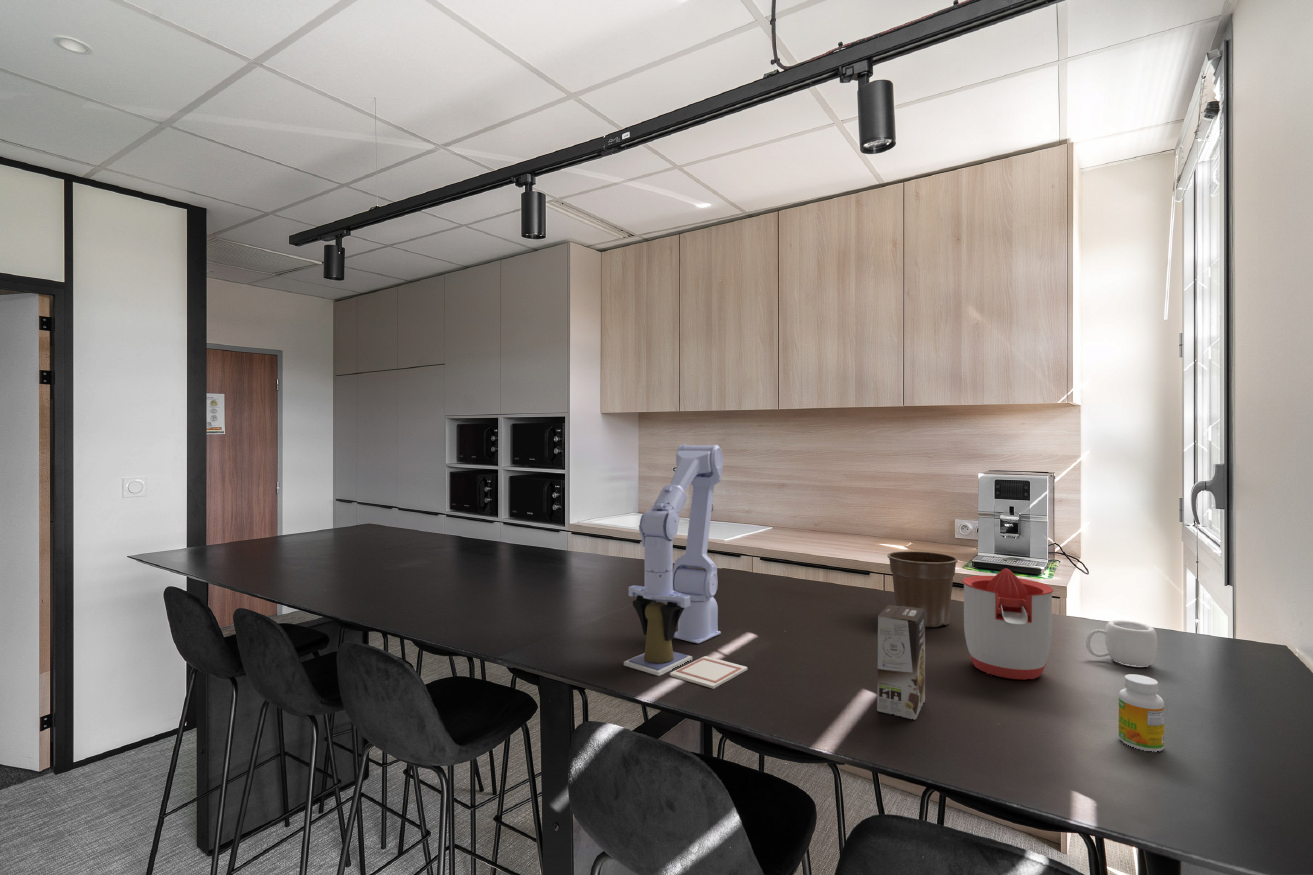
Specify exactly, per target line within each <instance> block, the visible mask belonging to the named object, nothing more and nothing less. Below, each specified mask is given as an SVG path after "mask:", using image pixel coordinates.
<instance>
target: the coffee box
mask: <svg viewBox="0 0 1313 875" xmlns="http://www.w3.org/2000/svg"><path fill="white" fill-rule="evenodd" d="M876 658H877V661H876V662H877V665H876V666H877V667H876V668H877V675H876V677H877V680H876V682H877V689H876V690H877V691H876V692H877V693H876V694H877V695H876V696H877V697H876V702H877V703H876V704H877V705H876V711H877V712H880V713H885V714H888V715H892V714H894V715H893V716H897V717H900V716H901V717H900V718H906V719H910V720H912V719H913V720H917V718H918V717H919V714H920V711H921V710H922V708H923V705H924V704H923V703H925V702H926V627H925V609H921V608H914V607H905V606H895V604H894V605H893V604H887V606H886V607H885V608H883V610H882V611H880V612H879V614H878V615H877V657H876ZM921 707H922V708H921Z"/></svg>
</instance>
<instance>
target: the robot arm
mask: <svg viewBox="0 0 1313 875" xmlns="http://www.w3.org/2000/svg"><path fill="white" fill-rule="evenodd" d="M675 463H676V470H675V471H674V474H673V476H672V478H671V481H670V484H666V485H664V486H663V487H662V488H661V490H660V492H659V494H658V495H657V498H656V500H655V501H654V504H653V505H652V507H651V509H648V510H646V511H645V512H644V513H642V515H641V516H640V520H639V524H638V530H639V534H640V537H641V545H642V547H644V586H642V585H635V584H634V585H631V586H628V596H629V597H631V598H632V597H636V599H635V600H633V601H632V606H633V608H634V609H635V611H636V613H637V616H638V618H639V621H640V625H641V629H642V633H643V636H646V635H647V625H648V619H647V618H646V616H645V609H646V606H647V605H648V604H650V603H654V602H663V603H666V604H667V605H664V606H661V607H660V610H661V612H662V616H663V622H664V638H665V641H669V640H671V641H672V640H673V639H678V640H683V641H686V642H690V643H695V644H700V643H702V642H706V641H707V640H710V639H712V638H714V637H717V636H718V635H721V634H722V633H721V632H722V631H720V630H718V622H719V620H718V618H719V616H718V615H719V614H718V612H719V609H718V603H717V601H716V599H715V597H714V596H715V594H716V593H717V591H718V585H719V584H718V583H719V582H718V579H719V578H718V566H717V565H716V563H715V562H714V561H713V560H712V558H710V557H709V556H708V545H709V538H710V537H709V535H710V526H711V518H712V510H713V501H714V492H715V485H716V484H718V483H720V482H721V480H722V474H723V468H724V466H723V465H724V456H723V452H722V448H721V447H720V446H719V445H718V444H711V445H710V444H707V445H706V444H701V445H700V444H699V445H698V444H689V445H688V444H680V445H679V447H678V448H677V451H676V454H675ZM690 485H692V496H691V497H692V498H691V503H690V512H689V520H688V521H689V522H688V529H687V538H686V547H685V553H684V554H683V555H681V556H680V557H678V558H676V559H675V561H674V560H673V557H674V555H673V552H674V551H673V550H674V549H673V543H674V542H673V540H674V539H675V538H676V536H677V534H678V528H679V524H680V517H679V516H680V514H681V512H682V510H683V508H684V507H685V504H686V502H687V499H688V498H687V494H686V491H687V490H688V488H689V487H690ZM673 561H674V564H673ZM677 629H678V630H677ZM676 630H677V631H676Z"/></svg>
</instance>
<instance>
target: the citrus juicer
mask: <svg viewBox="0 0 1313 875" xmlns="http://www.w3.org/2000/svg"><path fill="white" fill-rule="evenodd" d="M961 583H963V628H964V631H963V632H964V637H965V641H966V642H965V643H966V646H967V649H968V650H967V651H968V654H969V657H970V659H971V662H972V664H973V666H974V667H975V668H976V669H978V670H980V671H981V672H984V673H985V672H986V673H989V674H992V675H995V676H994V677H996V676H997V677H1000V678H1004V679H1005V678H1006V679H1010V680H1011V679H1012V680H1027V679H1033V680H1034V679H1036V678H1040V676H1041V675H1042V673H1043V672H1044V669H1045V667H1046V664H1047V660H1048V657H1049V656H1050V655H1049V654H1050V650H1051V645H1052V633H1053V632H1052V631H1053V629H1052V628H1053V627H1052V626H1053V625H1052V624H1053V623H1052V622H1053V621H1052V620H1053V619H1052V618H1053V616H1052V615H1053V613H1052V610H1053V608H1052V607H1053V604H1052V602H1053V592H1054V589H1053V587H1052V586H1050V585H1048V584H1046V583H1043V582H1039V581H1035V580H1032V579H1031V580H1030V579H1027V578H1026V579H1025V578H1020V577H1018V576H1017V575H1016V574H1015V573H1014V572H1013V571H1011V569H1010V568H1009V569H1008V568H1003V569H1001V570H1000V571H999V572H998V573H997V574H996V575H972V576H967V577H965V578H963V579H962V582H961ZM986 673H985V674H986ZM992 675H991V676H992Z"/></svg>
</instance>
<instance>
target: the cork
mask: <svg viewBox="0 0 1313 875" xmlns="http://www.w3.org/2000/svg"><path fill="white" fill-rule="evenodd" d="M664 605H667V603H665V602H660V601H656V602H654V603H650V604H648V605H647V606H646V609H645V616H646V618H647V619H648V625H647V635H645V636H646V637H645V647H644V653H645V655H644V659H645V660H646V661H648V662H652V663H664V662H669V661H671V660H673V659H674V655H673V652H674V650H673V643H672V640H669V641H665V638H664V622H663V616H662V612H661V610H660V607H661V606H664Z"/></svg>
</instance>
